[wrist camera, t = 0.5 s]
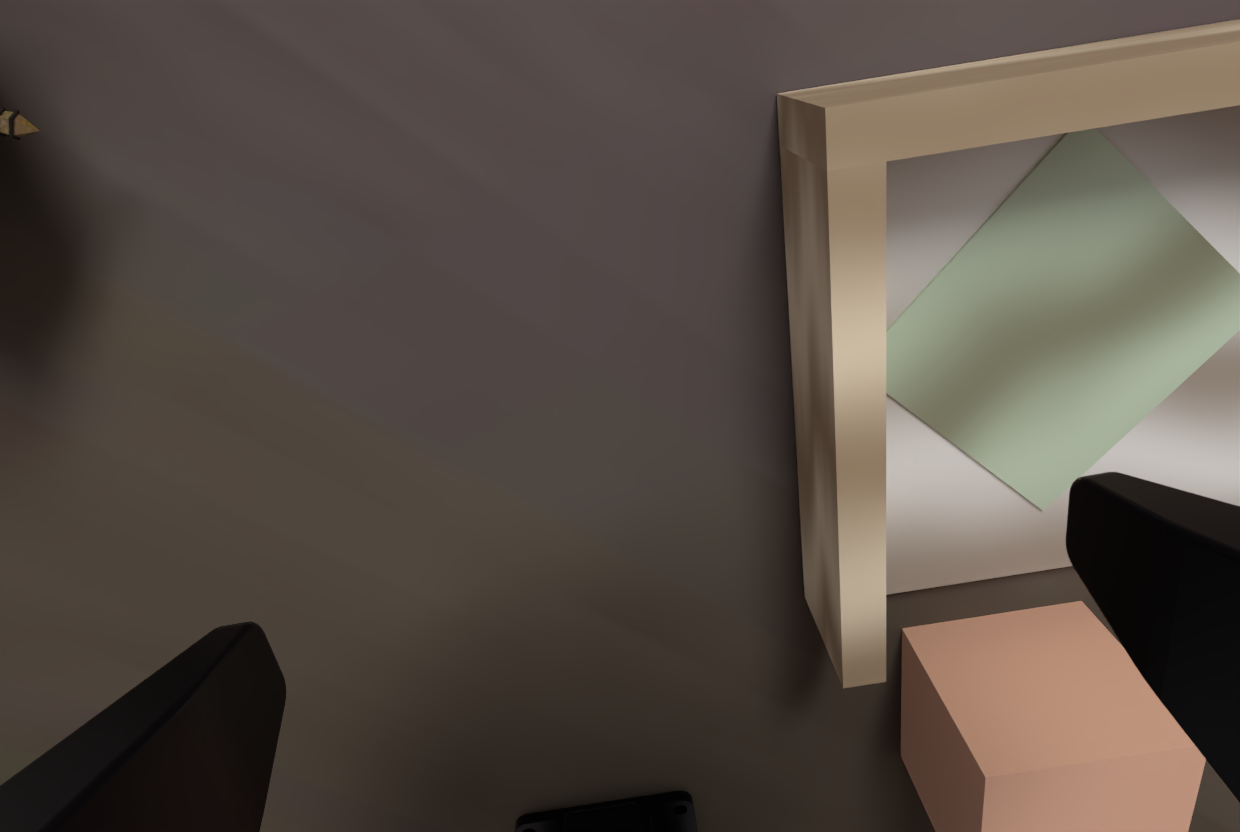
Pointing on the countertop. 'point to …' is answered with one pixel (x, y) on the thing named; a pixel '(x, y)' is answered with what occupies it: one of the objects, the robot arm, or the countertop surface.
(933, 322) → the tray
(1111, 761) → the cube
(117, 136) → the countertop surface
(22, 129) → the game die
